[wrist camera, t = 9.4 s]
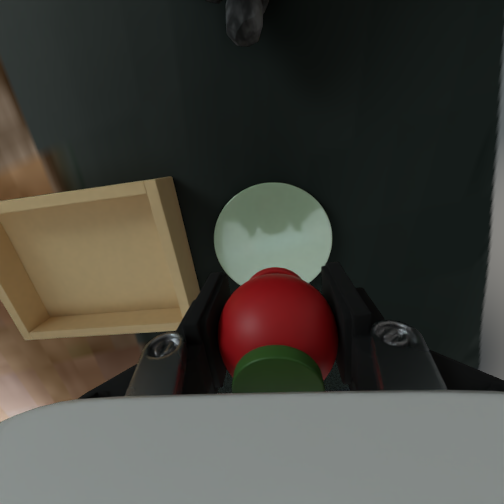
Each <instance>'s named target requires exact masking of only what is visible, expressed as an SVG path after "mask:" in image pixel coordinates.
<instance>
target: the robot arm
mask: <svg viewBox="0 0 504 504" xmlns="http://www.w3.org/2000/svg"><path fill="white" fill-rule="evenodd" d="M321 276H322V296H323V297H324V298H325V299H326V301H327V302H328V304H329V306H330V307H331V309H332V312H333V314H334V316H335V320H336V324H337V329H338V339H339V341H338V350H337V355H336V363H337V366H338V369H339V372H340V376H341V379H342V382H343V384H348V385H349V388H350V391H322V392H270V393H225V394H217V391H218V387H222V386H223V383H224V378H225V374H226V369H227V368H226V366H225V364H224V362H223V360H222V357H221V354H220V351H219V344H218V325H219V320H220V316H221V313H222V310H223V308H224V306H225V304H226V302H227V300H228V299H229V298H230V296H231V293H230V288H229V283H228V278H227V275H226V274H225V275H223V273H222V272H215V273H210V274H209V276H208V278H207V280H206V282H205V284H204V285H203V287H202V289H201V291H200V293H199V294H198V296H197V298H196V300H193V302H192V303H191V305H190V307H189V309H188V310H187V312H186V314H185V316H184V317H183V319H182V321H181V323H180V324H179V326H178V328H177V330H176V331H175V332H167V333H164V334H161V335H159V336H157V337H155V338H153V339H152V340H151V341H149V342H148V343H147V344H146V346H145V347H144V349H143V351H142V354H141V356H140V359H139V361H138V364H136V365H134V366H133V367H131V368H129V369H127V370H126V371H124V372H122V373H120V374H119V375H117V376H115V377H113V378H112V379H110V380H108V381H107V382H105V383H103V384H101V385H100V386H98V387H96V388H94V389H93V390H91V391H89V392H87V393H86V394H84V395H83V396H81V397H80V398H78V399H76V400H70V401H63V402H58V403H54V404H50V405H46V406H42V407H38V408H35V409H32V410H29V411H26V412H24V413H21V414H18V415H15V416H13V417H11V418H9V419H6V420H4V421H2V422H0V504H504V380H501V379H499V378H496V377H494V376H492V375H489V374H486V373H484V372H482V371H479V370H477V369H475V368H472V367H470V366H467V365H465V364H463V363H460V362H458V361H455V360H453V359H451V358H448V357H446V356H443V355H441V354H438V353H436V352H434V351H431V350H429V349H428V347H427V345H426V343H425V341H424V339H423V337H422V335H421V334H420V332H419V331H418V330H416V329H415V328H414V327H412V326H410V325H408V324H406V323H403V322H400V321H395V320H385V319H384V318H383V316H382V315H381V313H380V312H379V310H378V309H377V308H376V306H375V305H374V303H373V302H372V300H371V299H370V297H369V296H368V295H367V293H366V292H365V290H364V289H363V288H355V287H354V285H353V284H352V282H351V280H350V279H349V277H348V276H347V274H346V273H345V271H344V269H343V268H342V266H341V265H340V263H339V262H329V263H326V264H325V266H322V267H321Z"/></svg>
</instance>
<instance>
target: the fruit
mask: <svg viewBox="0 0 504 504" xmlns="http://www.w3.org/2000/svg"><path fill="white" fill-rule="evenodd" d="M206 1H209V2H212V3H220V2H221V1H222V0H206ZM268 3H269V0H227V2H226V6H225V7H226V31H227V35H228V36H229V37H230V39H231V40H232V41H233V42H234V43H235V44H236V45H238V46H250V45H252V44H254V43H256V42H258V40H259V37H260V33H261V30H262V27H263V14H264V13H265V10H266V8H267V6H268Z"/></svg>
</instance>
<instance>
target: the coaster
mask: <svg viewBox="0 0 504 504" xmlns="http://www.w3.org/2000/svg"><path fill="white" fill-rule="evenodd" d="M214 246H215V251H216V255H217V258H218V260H219V263H220V264H221V266H222V268H223V269H224V271H225V272H226V273H227V274H228V275H229V276H230V277H231V278H232V279H233V280H234V281H235V282H236V283H238V284H239V285H243V284H244V283H245V282H247V281H249V280H250V278H251V277H252V276H253V275H254V274H256V273H257V272H259V271H261V270H263V269H266V268H271V267H280V268H285V269H288V270H291V271H293V272H294V273H296V274H297V275H299V276H300V277H301V279H302V280H304V281H306V282H307V283H309V282H311V281H312V280H313V279H314V278H315V277H316V276H317V275H318V274H319V273H320V272H321V267H322V266H325V264H326V262H327V260H328V258H329V255H330V252H331V247H332V229H331V225H330V221H329V219H328V216H327V214H326V212H325V210H324V209H323V207H322V206H321V205H320V203H319V202H318V201H317V200H316V199H315V198H314V197H313V196H312V195H310V194H309V193H307V192H306V191H305V190H303V189H301V188H299V187H297V186H294V185H291V184H287V183H282V182H265V183H260V184H256V185H253V186H250V187H248V188H246V189H244V190H242V191H241V192H239V193H238V194H236V195H235V196H234V197H233V198H232V199H231V200H230V201H229V202H228V203H227V204H226V205H225V207H224V208H223V210H222V211H221V213H220V215H219V217H218V220H217V222H216V226H215V231H214Z"/></svg>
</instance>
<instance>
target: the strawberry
mask: <svg viewBox="0 0 504 504" xmlns="http://www.w3.org/2000/svg"><path fill="white" fill-rule="evenodd" d="M338 341H339V339H338V329H337V324H336V320H335V316H334V314H333V312H332V309H331V307H330V306H329V304H328V302H327V301H326V299H325V298H324V297H323V296H322V295H321V293H320V292H319V291H318V290H317V289H315V288H314V287H313V286H312V285H310V284H309V283H307V282H306V281H304V280H302V279H301V277H300V276H299V275H297V274H296V273H294V272H293V271H291V270H288V269H285V268H280V267H271V268H266V269H263V270H261V271H259V272H257V273H256V274H254V275H253V276H252V277H251V278H250V280H249V281H247V282H245V283H244V284H243V285H241V286H240V287H239V288H237V289H236V290H235V291H234V292H233V294H232V295H231V296H230V298H229V299H228V300H227V302H226V304H225V306H224V308H223V310H222V313H221V316H220V320H219V325H218V344H219V351H220V354H221V357H222V360H223V362H224V364H225V366H226V368H227V370H228V371H229V373H230V374H231V376H232V377H233V381H232V393H270V392H322V391H325V386H324V379H325V378H326V377H327V375H328V374H329V372H330V370H331V369H332V366H333V364H334V362H335V359H336V355H337V350H338Z"/></svg>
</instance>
